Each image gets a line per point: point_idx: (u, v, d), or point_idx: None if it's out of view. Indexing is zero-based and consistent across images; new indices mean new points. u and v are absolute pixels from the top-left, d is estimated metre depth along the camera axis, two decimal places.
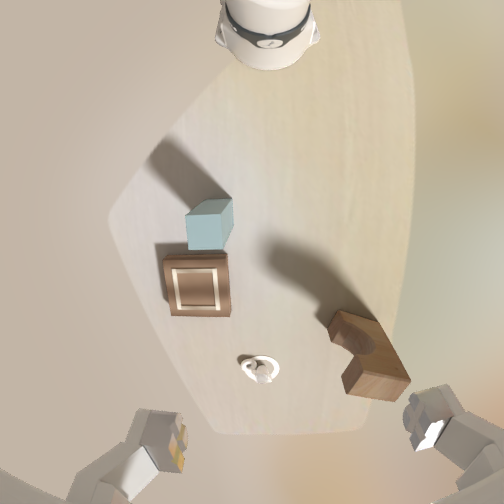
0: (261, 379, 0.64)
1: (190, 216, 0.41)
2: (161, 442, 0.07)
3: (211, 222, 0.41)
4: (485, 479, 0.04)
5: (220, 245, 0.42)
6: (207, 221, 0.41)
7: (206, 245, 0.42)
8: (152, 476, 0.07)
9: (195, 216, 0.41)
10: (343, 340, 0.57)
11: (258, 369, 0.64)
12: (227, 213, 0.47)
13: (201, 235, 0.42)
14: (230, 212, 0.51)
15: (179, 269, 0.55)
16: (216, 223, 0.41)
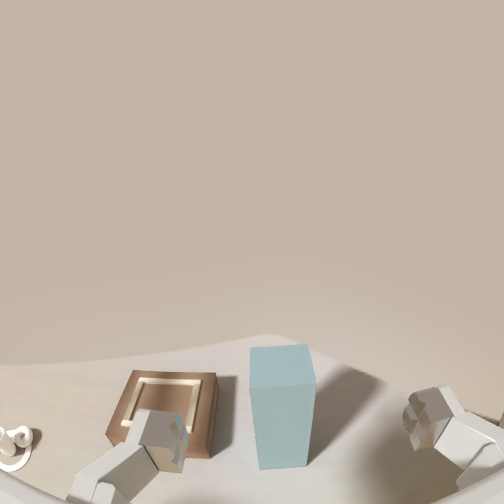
0: None
1: (306, 349, 0.25)
2: (161, 442, 0.07)
3: (299, 372, 0.22)
4: (485, 479, 0.04)
5: (257, 384, 0.21)
6: (300, 368, 0.23)
7: (257, 367, 0.23)
8: (152, 476, 0.07)
9: (307, 354, 0.24)
10: None
11: (11, 442, 0.23)
12: (296, 433, 0.23)
13: (275, 362, 0.23)
14: (289, 452, 0.24)
15: (198, 388, 0.34)
16: (298, 378, 0.21)
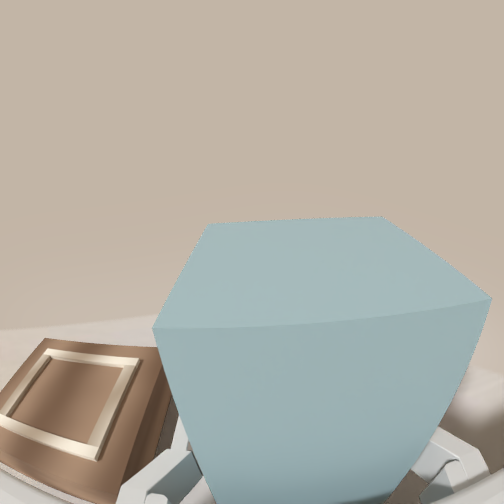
0: None
1: (387, 223, 0.07)
2: None
3: (401, 269, 0.05)
4: (485, 479, 0.04)
5: (198, 312, 0.04)
6: (397, 257, 0.05)
7: (218, 258, 0.06)
8: (196, 481, 0.07)
9: (397, 231, 0.07)
10: None
11: None
12: (352, 501, 0.06)
13: (292, 246, 0.06)
14: None
15: (131, 373, 0.17)
16: (410, 287, 0.04)
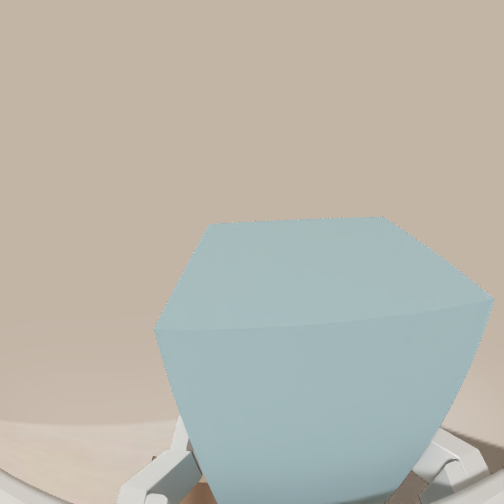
0: None
1: (388, 223, 0.07)
2: None
3: (404, 269, 0.05)
4: (485, 479, 0.04)
5: (200, 313, 0.04)
6: (399, 257, 0.05)
7: (219, 258, 0.06)
8: (196, 481, 0.07)
9: (398, 231, 0.07)
10: None
11: None
12: (353, 501, 0.06)
13: (293, 246, 0.06)
14: None
15: None
16: (413, 287, 0.04)
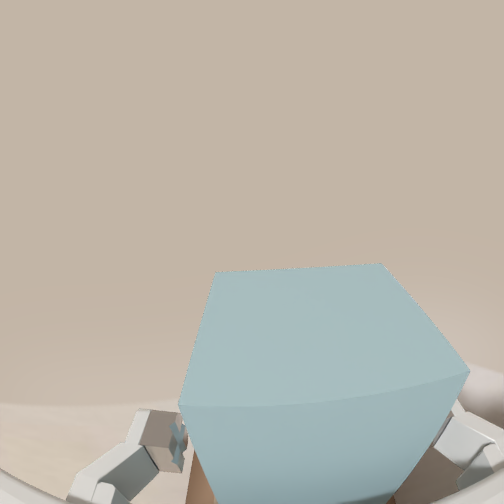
0: None
1: (385, 273, 0.08)
2: (161, 442, 0.07)
3: (393, 337, 0.05)
4: (485, 479, 0.04)
5: (215, 390, 0.04)
6: (391, 321, 0.06)
7: (228, 322, 0.06)
8: (152, 476, 0.07)
9: (394, 284, 0.07)
10: None
11: None
12: None
13: (295, 307, 0.07)
14: None
15: None
16: (398, 360, 0.05)
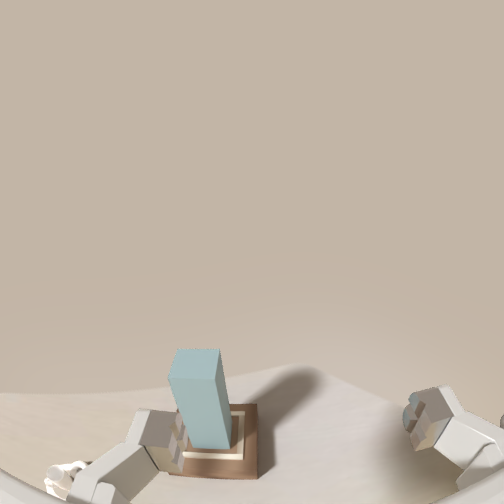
0: (52, 472, 0.26)
1: (217, 353, 0.32)
2: (161, 442, 0.07)
3: (205, 370, 0.30)
4: (485, 479, 0.04)
5: (173, 375, 0.29)
6: (207, 366, 0.30)
7: (177, 363, 0.31)
8: (152, 476, 0.07)
9: (216, 357, 0.32)
10: None
11: (69, 477, 0.26)
12: (211, 417, 0.31)
13: (191, 361, 0.31)
14: (211, 434, 0.32)
15: (244, 419, 0.38)
16: (203, 374, 0.29)
